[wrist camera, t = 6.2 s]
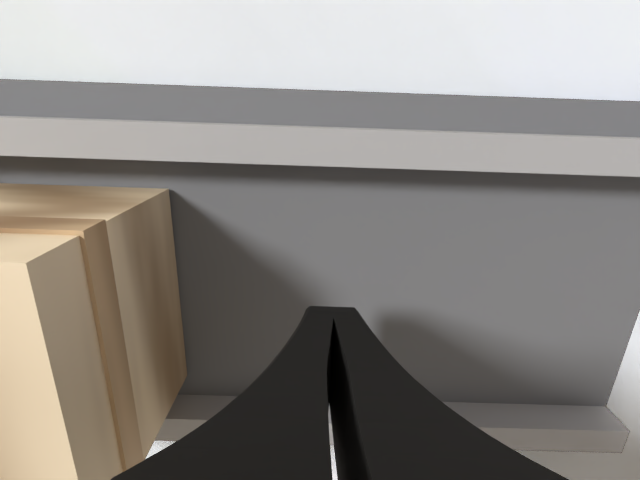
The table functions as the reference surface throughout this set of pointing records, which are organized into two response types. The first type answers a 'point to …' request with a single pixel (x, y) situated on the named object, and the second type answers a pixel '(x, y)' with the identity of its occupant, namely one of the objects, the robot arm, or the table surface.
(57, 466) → the block
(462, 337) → the crate bay
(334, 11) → the table surface
